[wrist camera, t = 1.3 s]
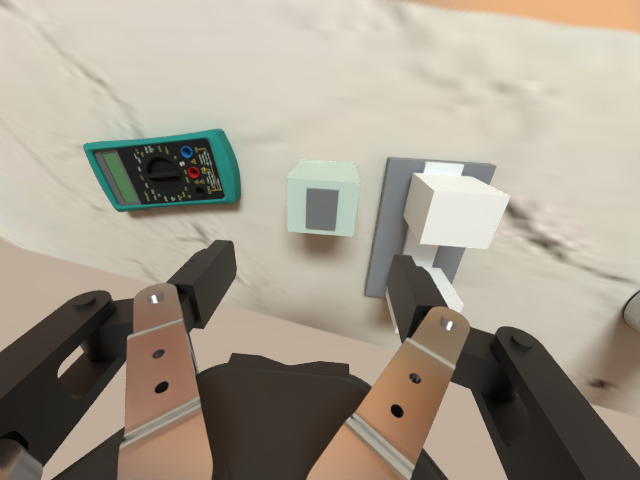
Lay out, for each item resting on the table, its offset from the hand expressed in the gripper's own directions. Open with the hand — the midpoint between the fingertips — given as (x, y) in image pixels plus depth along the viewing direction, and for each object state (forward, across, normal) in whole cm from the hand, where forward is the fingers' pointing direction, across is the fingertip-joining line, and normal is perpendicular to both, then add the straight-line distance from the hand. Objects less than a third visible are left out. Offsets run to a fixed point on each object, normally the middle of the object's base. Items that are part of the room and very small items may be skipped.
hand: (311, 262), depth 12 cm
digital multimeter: (+17, +17, 0) cm, 24 cm away
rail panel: (+16, -11, +6) cm, 20 cm away
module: (+16, 0, 0) cm, 16 cm away
